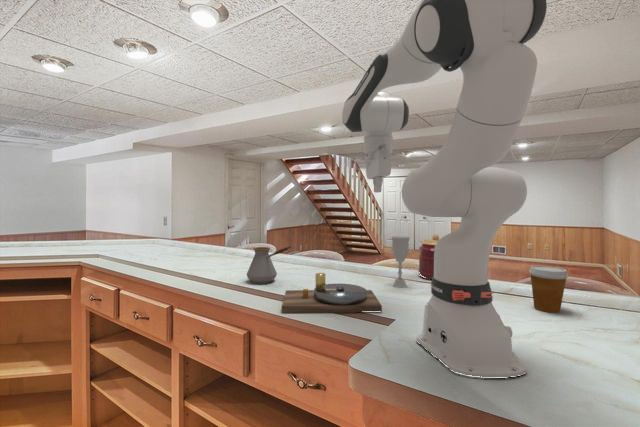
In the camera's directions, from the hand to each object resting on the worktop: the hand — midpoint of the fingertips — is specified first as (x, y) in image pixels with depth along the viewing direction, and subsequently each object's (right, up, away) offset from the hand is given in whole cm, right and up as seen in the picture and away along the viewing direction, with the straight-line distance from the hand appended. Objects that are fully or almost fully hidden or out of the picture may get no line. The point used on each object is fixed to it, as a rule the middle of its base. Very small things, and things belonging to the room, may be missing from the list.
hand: (377, 192), depth 105 cm
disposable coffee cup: (+48, -35, -7) cm, 60 cm away
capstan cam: (-12, -32, -3) cm, 34 cm away
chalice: (+11, -33, +19) cm, 40 cm away
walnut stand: (-15, -34, -3) cm, 37 cm away
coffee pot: (-37, -33, +21) cm, 54 cm away
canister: (+29, -33, +32) cm, 54 cm away
